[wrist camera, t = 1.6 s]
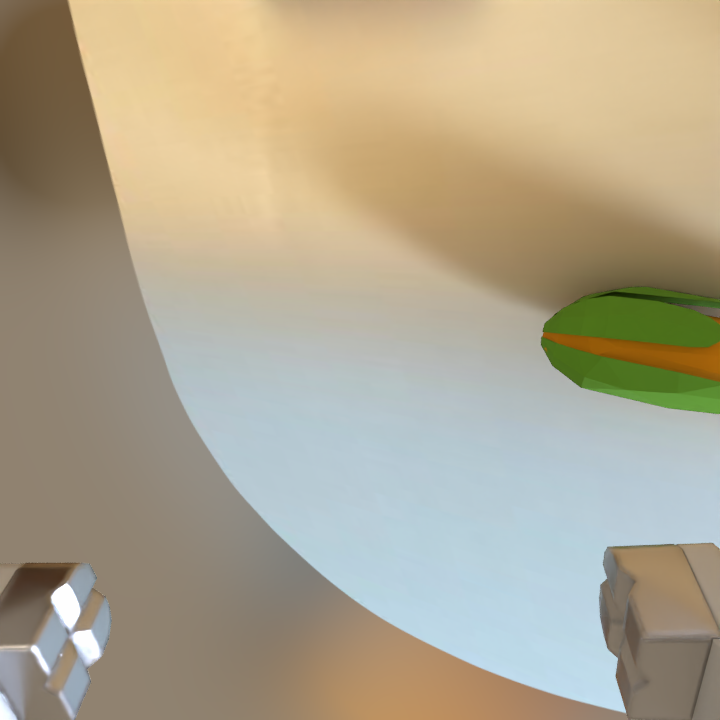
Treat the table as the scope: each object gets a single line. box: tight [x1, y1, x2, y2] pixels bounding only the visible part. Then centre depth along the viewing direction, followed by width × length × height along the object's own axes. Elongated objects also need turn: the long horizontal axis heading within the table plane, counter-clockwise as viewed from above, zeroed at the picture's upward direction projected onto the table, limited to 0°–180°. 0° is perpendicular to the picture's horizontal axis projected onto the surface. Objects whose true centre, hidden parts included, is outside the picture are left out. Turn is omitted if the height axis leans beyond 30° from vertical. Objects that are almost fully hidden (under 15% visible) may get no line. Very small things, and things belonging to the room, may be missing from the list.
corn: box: [541, 287, 720, 414], centre depth 44 cm, size 7×8×20 cm
